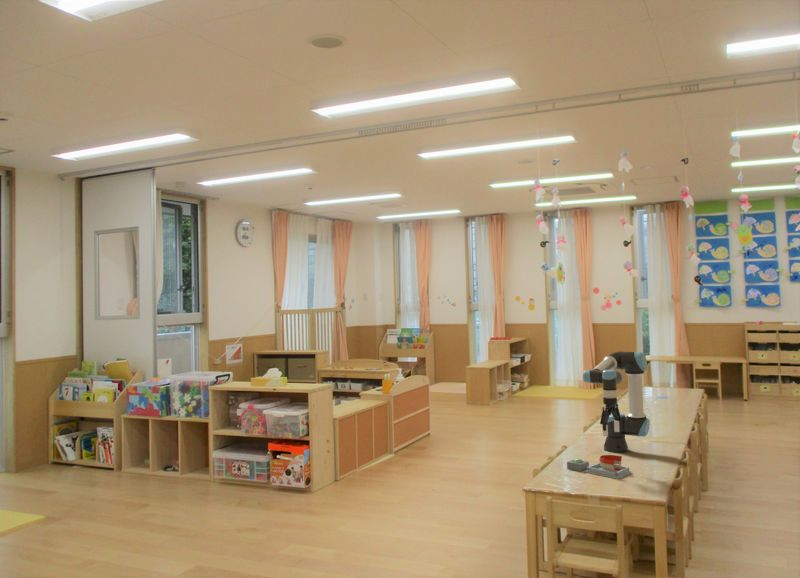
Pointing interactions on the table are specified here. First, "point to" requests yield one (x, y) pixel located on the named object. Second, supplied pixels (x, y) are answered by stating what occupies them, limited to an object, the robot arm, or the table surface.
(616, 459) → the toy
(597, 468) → the grey tray
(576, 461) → the button
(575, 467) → the grey square holder
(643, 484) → the table surface
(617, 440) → the robot arm
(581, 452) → the table surface
